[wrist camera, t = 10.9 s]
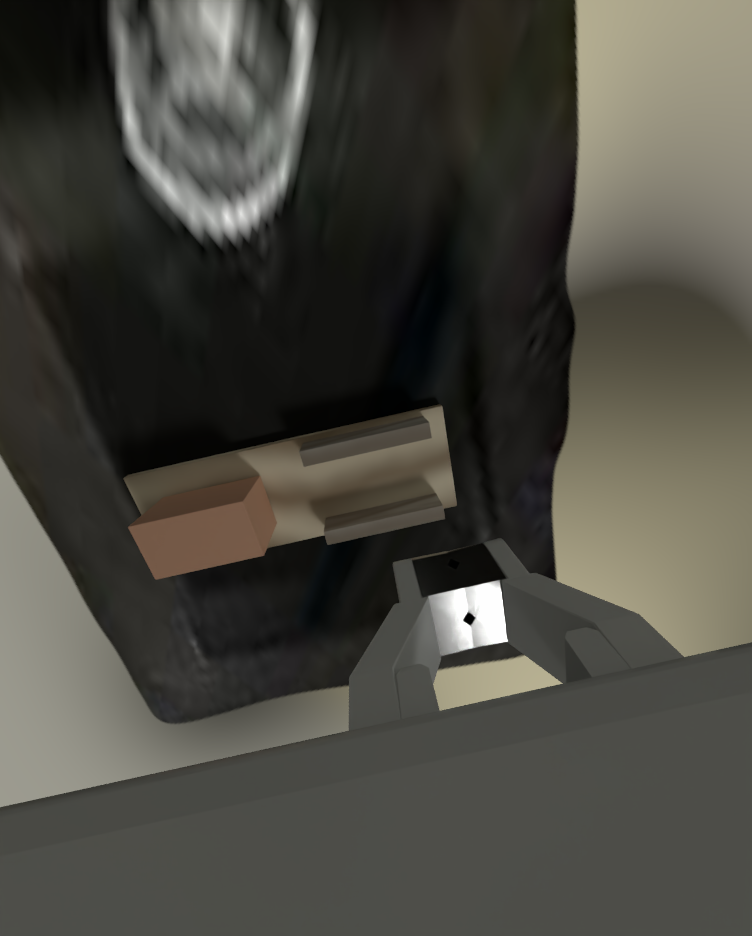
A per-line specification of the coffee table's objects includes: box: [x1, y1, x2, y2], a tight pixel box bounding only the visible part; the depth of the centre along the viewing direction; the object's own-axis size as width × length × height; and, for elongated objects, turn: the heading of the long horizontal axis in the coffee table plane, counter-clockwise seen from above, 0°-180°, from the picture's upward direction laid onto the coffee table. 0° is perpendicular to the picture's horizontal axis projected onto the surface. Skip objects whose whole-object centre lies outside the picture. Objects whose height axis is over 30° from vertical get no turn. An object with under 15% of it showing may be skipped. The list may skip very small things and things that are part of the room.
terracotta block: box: [128, 476, 277, 580], centre depth 34 cm, size 6×10×6 cm, turn 102°
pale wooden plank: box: [123, 404, 457, 548], centre depth 36 cm, size 11×32×4 cm, turn 102°
